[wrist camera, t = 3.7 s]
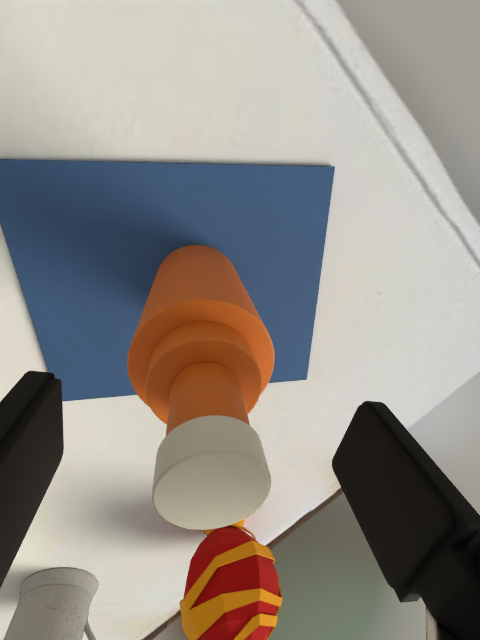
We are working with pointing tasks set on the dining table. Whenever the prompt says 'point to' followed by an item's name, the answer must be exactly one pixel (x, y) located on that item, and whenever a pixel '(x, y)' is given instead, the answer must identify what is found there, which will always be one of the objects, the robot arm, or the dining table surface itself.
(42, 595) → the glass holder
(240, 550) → the potion bottle
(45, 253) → the cloth
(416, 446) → the robot arm
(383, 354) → the dining table surface
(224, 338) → the bottle
